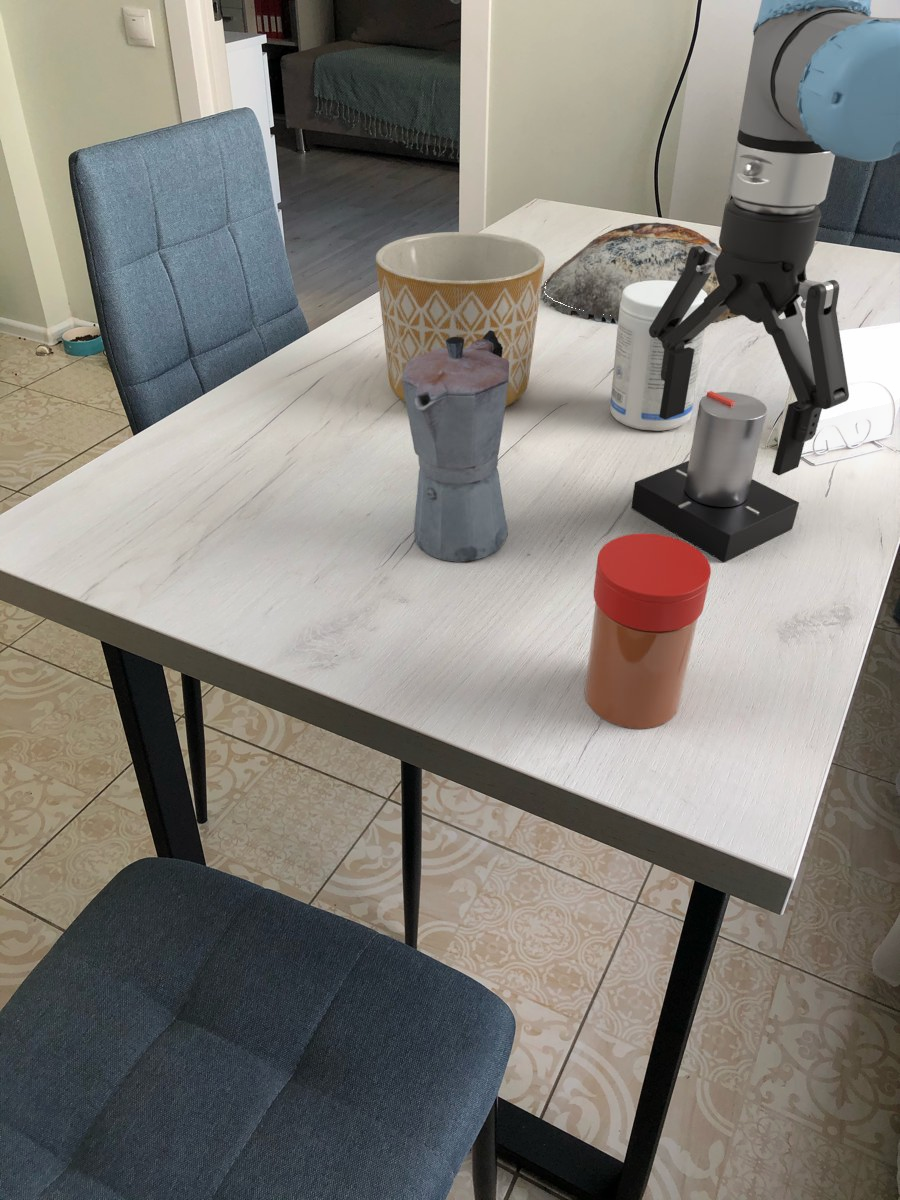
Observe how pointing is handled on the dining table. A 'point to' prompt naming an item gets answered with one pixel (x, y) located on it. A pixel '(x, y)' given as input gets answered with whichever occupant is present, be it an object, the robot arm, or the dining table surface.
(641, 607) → the lid
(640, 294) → the supplement tub
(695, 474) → the dial
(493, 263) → the planter
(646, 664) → the jar
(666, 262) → the bread
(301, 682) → the dining table surface
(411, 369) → the moka pot
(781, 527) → the panel
